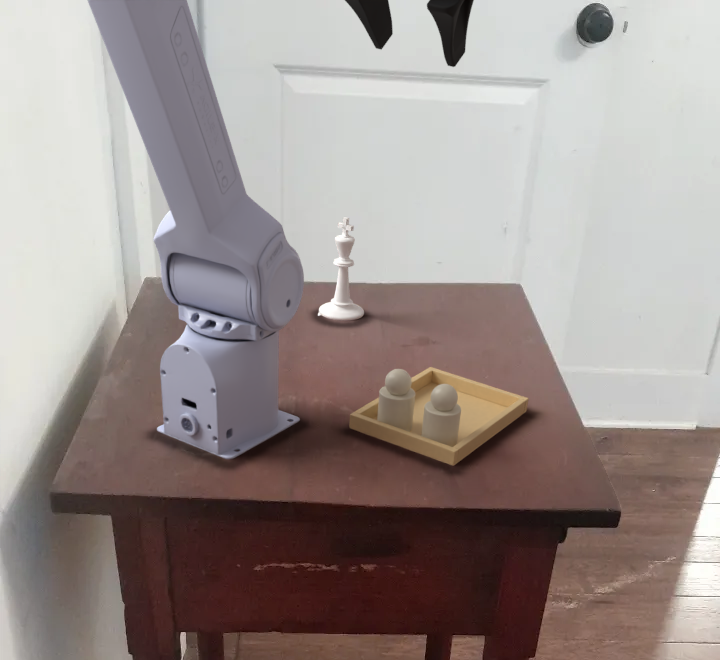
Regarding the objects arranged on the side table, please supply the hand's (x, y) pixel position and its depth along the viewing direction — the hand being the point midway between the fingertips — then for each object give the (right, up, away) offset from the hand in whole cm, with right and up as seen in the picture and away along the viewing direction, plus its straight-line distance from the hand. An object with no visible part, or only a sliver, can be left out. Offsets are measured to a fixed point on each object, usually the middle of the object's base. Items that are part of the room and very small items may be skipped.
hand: (419, 49), depth 88 cm
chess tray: (+2, -34, -3) cm, 34 cm away
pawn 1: (-2, -35, -5) cm, 35 cm away
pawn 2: (+1, -37, -6) cm, 37 cm away
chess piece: (-7, -19, +16) cm, 26 cm away
